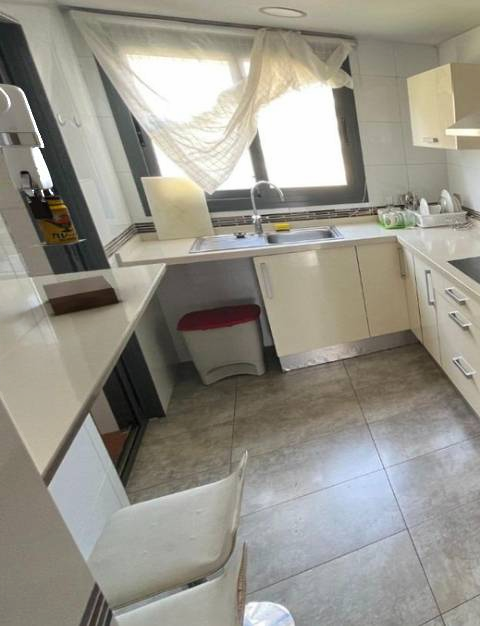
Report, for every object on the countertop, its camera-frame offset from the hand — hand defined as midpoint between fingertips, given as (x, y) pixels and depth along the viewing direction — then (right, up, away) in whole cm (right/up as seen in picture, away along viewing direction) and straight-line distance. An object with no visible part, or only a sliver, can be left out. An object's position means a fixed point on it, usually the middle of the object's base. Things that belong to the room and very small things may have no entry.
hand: (48, 216), depth 116 cm
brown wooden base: (+12, -22, -3) cm, 25 cm away
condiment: (0, -7, +3) cm, 7 cm away
